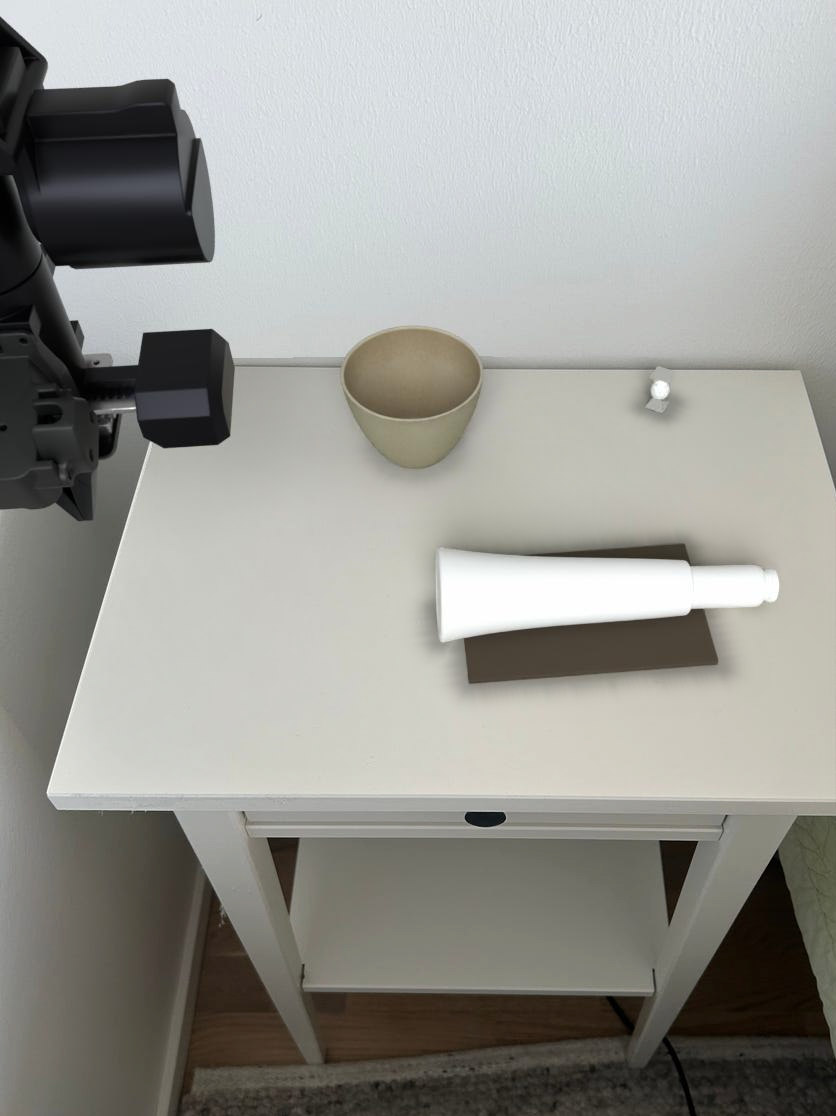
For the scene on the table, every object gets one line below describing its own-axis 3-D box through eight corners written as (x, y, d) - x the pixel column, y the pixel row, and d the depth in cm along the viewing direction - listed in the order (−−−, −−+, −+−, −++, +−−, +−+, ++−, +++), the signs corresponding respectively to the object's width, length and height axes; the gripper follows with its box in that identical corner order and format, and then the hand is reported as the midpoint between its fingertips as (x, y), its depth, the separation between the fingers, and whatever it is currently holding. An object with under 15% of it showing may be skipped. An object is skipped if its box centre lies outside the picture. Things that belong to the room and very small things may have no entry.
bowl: (323, 462, 75) (311, 386, 69) (397, 386, 80) (391, 309, 74) (437, 513, 72) (434, 438, 66) (506, 430, 77) (509, 354, 71)
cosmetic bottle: (439, 660, 65) (770, 648, 67) (442, 607, 59) (800, 596, 62) (434, 584, 68) (749, 575, 70) (436, 527, 63) (776, 519, 65)
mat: (469, 684, 63) (469, 680, 63) (455, 563, 69) (455, 559, 69) (717, 664, 64) (718, 661, 64) (683, 547, 70) (684, 543, 70)
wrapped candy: (669, 402, 79) (676, 371, 76) (662, 413, 78) (668, 383, 76) (652, 396, 79) (657, 365, 77) (644, 407, 79) (650, 376, 76)
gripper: (-327, 404, 37) (-124, 647, 50) (181, 374, 39) (253, 619, 51) (-233, 233, 44) (-75, 486, 57) (200, 212, 45) (259, 464, 58)
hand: (87, 515), depth 55 cm, fingers closed
